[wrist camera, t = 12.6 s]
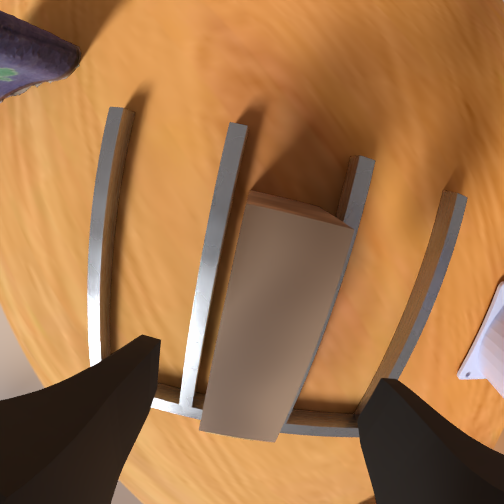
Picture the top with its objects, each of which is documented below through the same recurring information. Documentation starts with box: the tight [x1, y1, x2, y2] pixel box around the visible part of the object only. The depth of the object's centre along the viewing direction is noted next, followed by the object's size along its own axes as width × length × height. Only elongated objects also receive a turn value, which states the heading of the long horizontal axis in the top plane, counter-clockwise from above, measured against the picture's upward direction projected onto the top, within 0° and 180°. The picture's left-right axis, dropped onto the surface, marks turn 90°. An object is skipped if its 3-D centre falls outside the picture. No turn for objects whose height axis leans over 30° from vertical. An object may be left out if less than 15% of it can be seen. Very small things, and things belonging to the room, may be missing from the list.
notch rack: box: [87, 107, 467, 440], centre depth 15 cm, size 19×17×2 cm
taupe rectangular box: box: [199, 190, 354, 442], centre depth 13 cm, size 4×10×6 cm, turn 167°
